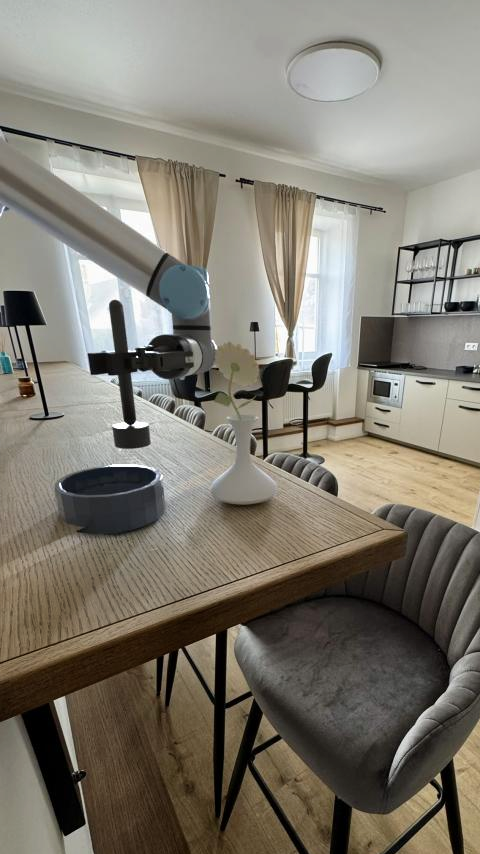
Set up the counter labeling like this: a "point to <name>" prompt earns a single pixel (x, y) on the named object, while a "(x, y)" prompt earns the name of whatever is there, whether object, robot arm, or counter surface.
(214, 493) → the flower in vase
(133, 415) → the rod with disc base
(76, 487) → the bowl
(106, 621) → the counter surface
